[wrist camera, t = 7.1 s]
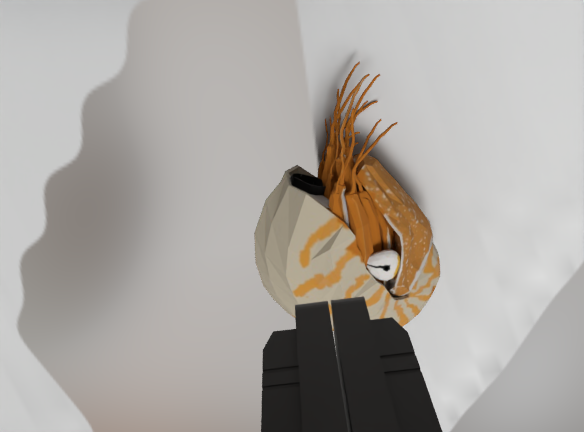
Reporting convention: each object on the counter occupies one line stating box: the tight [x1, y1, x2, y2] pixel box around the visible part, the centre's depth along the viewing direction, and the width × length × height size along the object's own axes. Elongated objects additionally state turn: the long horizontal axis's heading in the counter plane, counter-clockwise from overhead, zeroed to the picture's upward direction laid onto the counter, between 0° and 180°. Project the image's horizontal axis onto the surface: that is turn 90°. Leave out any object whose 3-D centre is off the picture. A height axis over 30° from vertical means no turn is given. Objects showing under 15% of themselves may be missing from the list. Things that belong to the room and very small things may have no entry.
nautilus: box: [255, 62, 440, 331], centre depth 39 cm, size 8×22×15 cm
